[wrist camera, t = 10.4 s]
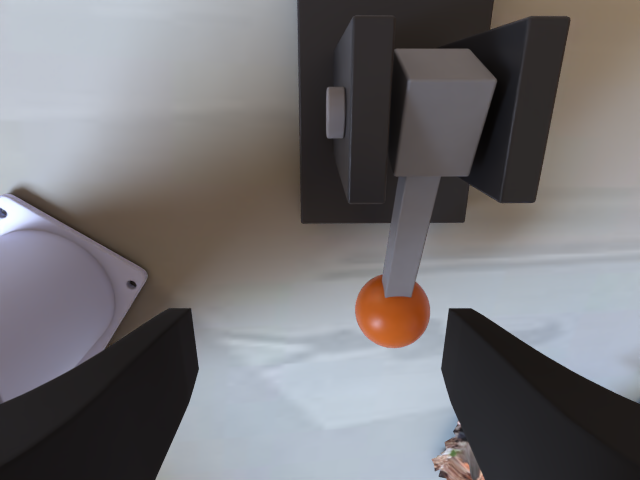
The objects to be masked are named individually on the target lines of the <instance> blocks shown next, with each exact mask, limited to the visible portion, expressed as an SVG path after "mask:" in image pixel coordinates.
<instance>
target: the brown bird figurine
mask: <svg viewBox="0 0 640 480" xmlns="http://www.w3.org/2000/svg"><path fill="white" fill-rule="evenodd" d="M457 423H458V425H457V426H456V428H455V430H454V431H453V432H454V434H455V435H456V436H455V437H453V438H451V439H450V440H448V441H446V442H445V446H446V451H444V452H442V453H440V454H442V455H438V456H437V457H436V458H434V459H432V461H433V463H434V468H435V471H437V470H439V469H441V470H440V474H439V477H442V478H447V480H485V479H484V477H483V474H482V472H481V470H480V468H479V465H478V463H477V461H476V459H475V456H474V454H473V452H472V450H471V447H470V445H469V443H468V441H467V438H466V436H465V434H464V432H463V429H462V427H461V425H460V423H459V421H458V422H457Z"/></svg>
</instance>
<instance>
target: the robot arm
mask: <svg viewBox="0 0 640 480" xmlns="http://www.w3.org/2000/svg"><path fill="white" fill-rule="evenodd" d="M2 209H4V210H5V211H6V212H7V215H5V214H3V212H2ZM147 278H148V275H147V272H146V271H145V270H144V269H143V268H141V267H139V266H138V265H136V264H134V263H132V262H131V261H129V260H127V259H125V258H124V257H122V256H120V255H118V254H116V253H115V252H113V251H111V250H109V249H108V248H106V247H104V246H102V245H101V244H99V243H97V242H95V241H94V240H92V239H90V238H88V237H86V236H85V235H83V234H81V233H79V232H78V231H76V230H74V229H72V228H71V227H69V226H67V225H65V224H64V223H62V222H60V221H58V220H56V219H55V218H53V217H51V216H49V215H48V214H46V213H44V212H42V211H41V210H39V209H37V208H35V207H34V206H32V205H30V204H28V203H26V202H25V201H23V200H21V199H19V198H18V197H16V196H14V195H12V194H3V195H0V480H155V479H156V477H157V474H158V472H159V470H160V468H161V465H162V463H163V461H164V459H165V456H166V454H167V452H168V450H169V447H170V445H171V443H172V441H173V438H174V436H175V434H176V432H177V429H178V427H179V425H180V423H181V420H182V418H183V416H184V413H185V411H186V409H187V406H188V404H189V401H190V398H191V395H192V392H193V388H194V385H195V381H196V377H197V374H198V370H199V367H198V359H197V351H196V343H195V336H194V328H193V320H192V313H191V308H169V309H167V310H165V311H164V312H162V313H160V314H159V315H157V316H155V317H154V318H152V319H151V320H149V321H148V322H146V323H145V324H143V325H142V326H140V327H139V328H137V329H136V330H134V331H133V332H131V333H130V334H128V335H127V336H125V337H124V338H122V339H120V340H119V341H117V342H116V343H114V344H113V345H111V346H110V347H108V348H106V349H105V347H106V346H107V344H108V343H109V341H110V339H111V338H112V336H113V334H114V333H115V331H116V329H117V328H118V326H119V325H120V323H121V321H122V320H123V318H124V316H125V315H126V313H127V311H128V310H129V308H130V307H131V305H132V303H133V302H134V300H135V298H136V297H137V295H138V293H139V292H140V290H141V289H142V287H143V285H144V284H145V282H146V280H147ZM129 281H134V282H135V283H136V285H137V286H133V285H131V284H130V282H129ZM104 349H105V350H104ZM441 370H442V374H443V377H444V381H445V385H446V388H447V392H448V395H449V398H450V401H451V404H452V406H453V409H454V411H455V413H456V416H457V418H458V420H459V423H460V425H461V427H462V429H463V432H464V434H465V436H466V438H467V441H468V443H469V445H470V447H471V450H472V452H473V454H474V456H475V459H476V461H477V463H478V465H479V468H480V470H481V472H482V474H483V477H484V479H485V480H640V404H638V403H636V402H634V401H631V400H629V399H627V398H625V397H623V396H620V395H618V394H616V393H614V392H612V391H610V390H608V389H606V388H604V387H602V386H600V385H598V384H596V383H594V382H592V381H590V380H588V379H586V378H584V377H582V376H580V375H578V374H576V373H575V372H573V371H571V370H569V369H567V368H566V367H564V366H562V365H561V364H559V363H557V362H555V361H554V360H552V359H550V358H548V357H547V356H545V355H543V354H542V353H540V352H539V351H537V350H535V349H534V348H532V347H531V346H529V345H527V344H526V343H524V342H523V341H521V340H520V339H518V338H517V337H515V336H514V335H512V334H511V333H509V332H508V331H506V330H505V329H503V328H502V327H500V326H499V325H497V324H496V323H494V322H492V321H491V320H489V319H488V318H486V317H485V316H483V315H482V314H480V313H478V312H477V311H475V310H473V309H471V308H449V313H448V320H447V328H446V336H445V343H444V351H443V359H442V367H441Z"/></svg>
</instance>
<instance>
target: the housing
mask: <svg viewBox="0 0 640 480" xmlns="http://www.w3.org/2000/svg"><path fill="white" fill-rule="evenodd" d="M493 2H494V0H297V9H298V67H299V125H300V183H301V222H302V223H391V220H392V214H393V208H394V202H395V195H396V189H397V183H398V177H396V176H394V174H393V171H392V167H391V163H390V160H389V156H388V145H389V127H390V110H391V93H392V76H393V59H394V50H395V49H470V50H471V51H472V52H473V54H474V55H475V56H476V57H477V58H478V59H479V60H480V61H481V62H482V63H483V65H484V66H485V67H486V68H487V69H488V70H489V71H490V72H491V73H492V74H493V76H494V77H495V78H496V79H497V83H496V87H495V90H494V93H493V97H492V100H491V103H490V107H489V110H488V114H487V117H486V120H485V124H484V127H483V130H482V134H481V137H480V140H479V144H478V147H477V150H476V154H475V157H474V160H473V164H472V167H471V170H470V174H469V176H441V178H440V182H439V187H438V191H437V195H436V199H435V203H434V207H433V211H432V215H431V219H430V223H463V222H464V221H465V214H466V207H467V199H468V191H469V184H470V185H471V186H473V187H475V188H476V189H478V190H480V191H481V192H483V193H485V194H486V195H488V196H489V197H491V198H493V199H494V200H496V201H498V202H500V203H533V202H535V200H536V196H537V191H538V185H539V180H540V175H541V170H542V165H543V159H544V154H545V149H546V144H547V139H548V134H549V128H550V123H551V118H552V113H553V108H554V103H555V97H556V92H557V87H558V82H559V77H560V71H561V66H562V61H563V56H564V51H565V46H566V40H567V35H568V30H569V25H570V18H569V17H567V16H530V17H527V18H524V19H521V20H518V21H515V22H512V23H509V24H506V25H503V26H500V27H497V28H494V29H491V30H490V25H491V17H492V10H493Z"/></svg>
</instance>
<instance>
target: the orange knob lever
mask: <svg viewBox="0 0 640 480" xmlns="http://www.w3.org/2000/svg"><path fill="white" fill-rule="evenodd" d="M496 83H497V79H496V78H495V77H494V76H493V74H492V73H491V72H490V71H489V70H488V69H487V68H486V67H485V66H484V65H483V63H482V62H481V61H480V60H479V59H478V58H477V57H476V56H475V55H474V54H473V52H472V51H471V50H470V49H395V50H394V59H393V76H392V93H391V110H390V127H389V145H388V156H389V160H390V163H391V167H392V171H393V174H394V176H396V177H398V183H397V189H396V195H395V202H394V208H393V214H392V220H391V226H390V233H389V239H388V245H387V251H386V257H385V264H384V270H383V274H382V275H379V276H376V277H374V278H372V279H371V280H370V281H368V282H367V283H366V284H365V285H364V286H363V288H362V289H361V291H360V292H359V294H358V297H357V300H356V305H355V314H356V319H357V322H358V325H359V327H360V329H361V330H362V332H363V333H364V334H365V336H366V337H368V338H369V339H370V340H371V341H373V342H374V343H376V344H378V345H380V346H383V347H387V348H400V347H404V346H407V345H410V344H412V343H413V342H415V341H416V340H417V339H418V338H420V336H421V335H422V334H423V333H424V331H425V330H426V328H427V325H428V323H429V318H430V305H429V301H428V298H427V296H426V294H425V292H424V290H423V289H422V288H421V286H420V285H419V284H418V283H416V282H415V281H416V277H417V273H418V268H419V264H420V260H421V256H422V252H423V248H424V244H425V240H426V236H427V232H428V228H429V223H430V219H431V215H432V211H433V207H434V203H435V199H436V195H437V191H438V187H439V182H440V178H441V176H469V174H470V170H471V167H472V164H473V160H474V157H475V154H476V150H477V147H478V144H479V140H480V137H481V134H482V130H483V127H484V124H485V120H486V117H487V114H488V110H489V107H490V103H491V100H492V97H493V93H494V90H495V87H496Z"/></svg>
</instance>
